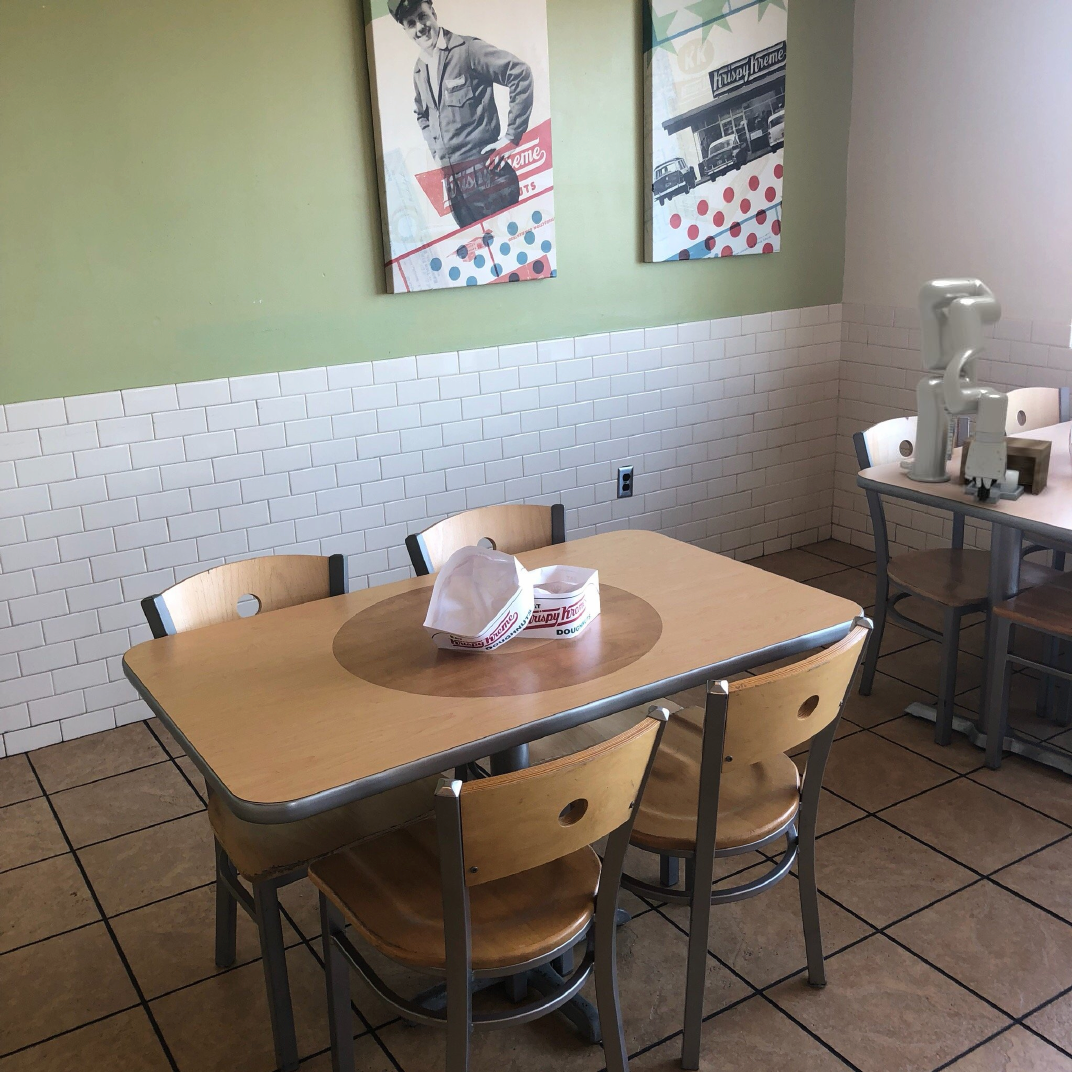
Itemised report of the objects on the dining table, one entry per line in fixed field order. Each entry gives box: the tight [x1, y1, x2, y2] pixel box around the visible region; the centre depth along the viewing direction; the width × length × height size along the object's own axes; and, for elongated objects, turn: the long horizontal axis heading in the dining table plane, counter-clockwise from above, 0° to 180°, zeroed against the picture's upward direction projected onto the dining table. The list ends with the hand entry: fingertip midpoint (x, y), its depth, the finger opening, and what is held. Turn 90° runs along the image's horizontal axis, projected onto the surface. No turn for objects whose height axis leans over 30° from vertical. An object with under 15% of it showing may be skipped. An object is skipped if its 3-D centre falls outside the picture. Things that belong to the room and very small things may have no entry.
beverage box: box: [944, 407, 958, 461], centre depth 349 cm, size 7×11×22 cm, turn 156°
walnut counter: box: [958, 435, 1053, 496], centre depth 314 cm, size 22×12×14 cm, turn 54°
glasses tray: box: [964, 470, 1025, 505], centre depth 305 cm, size 14×16×7 cm
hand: (982, 500), depth 299 cm, fingers closed
